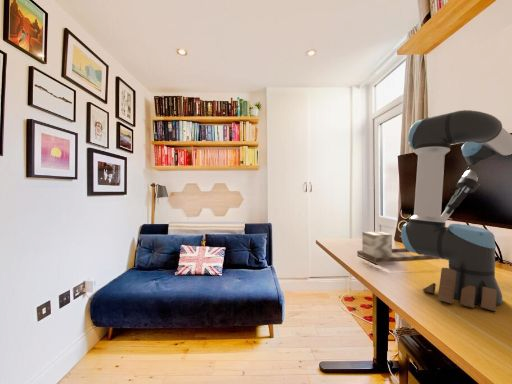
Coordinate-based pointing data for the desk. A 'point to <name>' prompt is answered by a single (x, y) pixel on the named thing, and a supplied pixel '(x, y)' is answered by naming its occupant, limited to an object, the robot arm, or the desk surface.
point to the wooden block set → (462, 291)
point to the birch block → (377, 244)
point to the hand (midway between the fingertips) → (442, 219)
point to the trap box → (393, 256)
